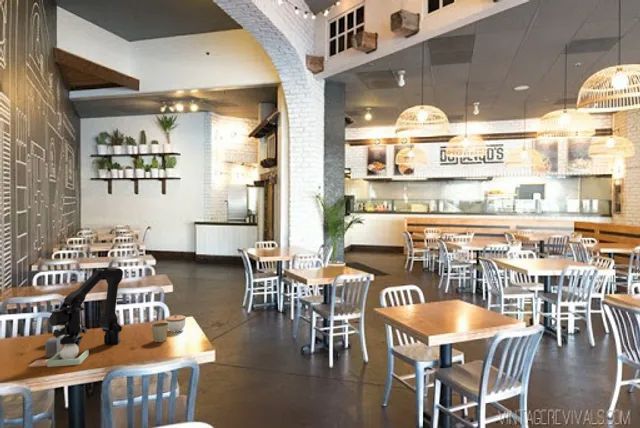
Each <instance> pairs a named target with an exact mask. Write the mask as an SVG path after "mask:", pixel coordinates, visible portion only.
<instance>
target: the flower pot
mask: <svg viewBox="0 0 640 428" xmlns="http://www.w3.org/2000/svg"><path fill="white" fill-rule="evenodd" d="M168 325H169V323H166V322H156V323H152V324H150V328H151V331H152V332H151V333H152V338H153V342H154V343H158V342H159V343H163V342H166V340H167V339H168V338H167V337H168V330H169V329H168Z"/></svg>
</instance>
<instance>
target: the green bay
mask: <svg viewBox="0 0 640 428" xmlns="http://www.w3.org/2000/svg"><path fill="white" fill-rule="evenodd" d="M89 353H90V352H89V349H86V350H84V352H83V353H82V354H80V355H79V356H78V357H75V358H74V359H62V358H61V357H60V352H58V353H57V354H55V355H54V356H53V357H50V358H48V359H49V360H48V361H47V367H49V368H50V367H52V368H53V367H62V366H76V365H77V366H78V365H81V364H82V363H83V362H84V361H85V359H86V358H87V357H88V356H89V355H90V354H89Z"/></svg>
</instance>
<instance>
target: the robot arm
mask: <svg viewBox="0 0 640 428" xmlns="http://www.w3.org/2000/svg"><path fill="white" fill-rule="evenodd" d="M123 276H124V271H123V270H122V269H121V268H119V267H108V268H107V269H95V270H94V272H93V273H92V274H91V275H90V276H89V277H88V278H87V279H86V280H85V281H84V282H83V283H82V284H81V285H80V287H78V288H77V289H76V290H74V291H71V292H70V293H69V294H67V295H66V296H65V297H64V299H63V300H64V301H63V303H61V305H60V307H59V310H52V311H51V314H50V315H49V317H48V322H49V324H50V326H52V327H56V326H57V325H61V324H65V323H67V324H66V325H65V327H63V328H60V329H59V328H58V329H56V328H55V329H54V330H53V331H52V337H56V338H58V337H59V336H62V335H64V334H65V336H64V337H63V338H62V339H61V340H60V344H62V345H66V344H74V343H75V344H76V345H77V346H78V347H79V346H80V344H81V341H82V340H83V338H84V336H82V335H80V334H84V335H86V334H87V333H88V328H87V327H86V326H84V327H82V326H81V325H82V323H83V322H82V321H81V311H85V308H84V307H83V306H82V304H84V301H85V300H86V296H87V295H88V294H89V293H90V292H91V291H92V289H94V287H96V285H98V283H100V282H101V280H102V279H103V278H105V282H106V284H107V291H106V300H105V307H104V313H103V315H100V316H99V322H98V324H99V327H100V328H101V329H102V332H103V333H104V335H103V338H104V339H103V342H104V346H110V345H111V346H112V345H113V346H116V345H118V344H119V343H120V342H121V339H120V332H122V330H123V326H121V324H119V321H118V316H117V312H116V308H117V307H116V306H117V299H118V288H119V285H120V283H121V282H122V280H123ZM67 335H69V336H67Z"/></svg>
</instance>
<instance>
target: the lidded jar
mask: <svg viewBox="0 0 640 428" xmlns="http://www.w3.org/2000/svg"><path fill="white" fill-rule="evenodd" d="M165 320H166V321H165V323H169V325H168V329H167V330H168V331H170V332H171V331H173V332H172V333H175V332H174V331H180V330H183V329H184V328H185V326H186V315H181V314H180V315H179V314H178V315H177V314H174V315H170V316H167V317H166V318H165ZM180 332H181V331H180Z"/></svg>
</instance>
